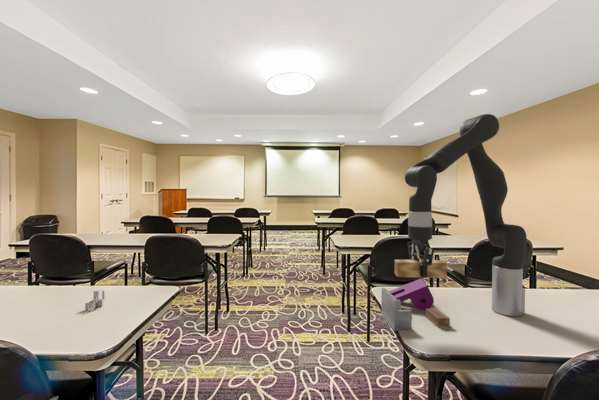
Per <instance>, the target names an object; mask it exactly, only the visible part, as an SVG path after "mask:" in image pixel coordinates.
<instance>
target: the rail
mask: <svg viewBox="0 0 599 400" xmlns="http://www.w3.org/2000/svg"><path fill="white" fill-rule="evenodd" d="M428 261H429V259H428ZM394 275H395V276H396V277H397V278H422V277H421V276H420V261H419V260H411V259H394ZM447 276H448V263H447V262H446V261H444V260H441V259H433V260H432V265H428V266H427V277H424V278H427V279H428V278H432V279H433V278H434V279H436V278H437V279H438V278H439V279H446V278H448V277H447Z"/></svg>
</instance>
